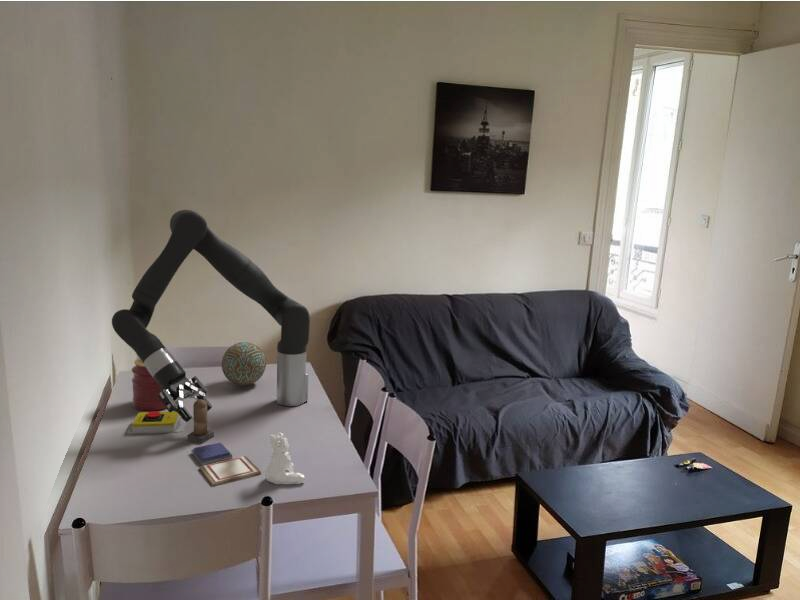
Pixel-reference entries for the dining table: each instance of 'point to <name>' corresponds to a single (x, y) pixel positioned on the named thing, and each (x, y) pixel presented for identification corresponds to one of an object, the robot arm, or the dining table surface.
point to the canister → (145, 389)
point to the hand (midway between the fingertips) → (199, 414)
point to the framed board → (229, 470)
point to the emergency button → (157, 423)
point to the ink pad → (211, 453)
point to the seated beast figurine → (281, 463)
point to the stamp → (200, 423)
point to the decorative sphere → (243, 363)
